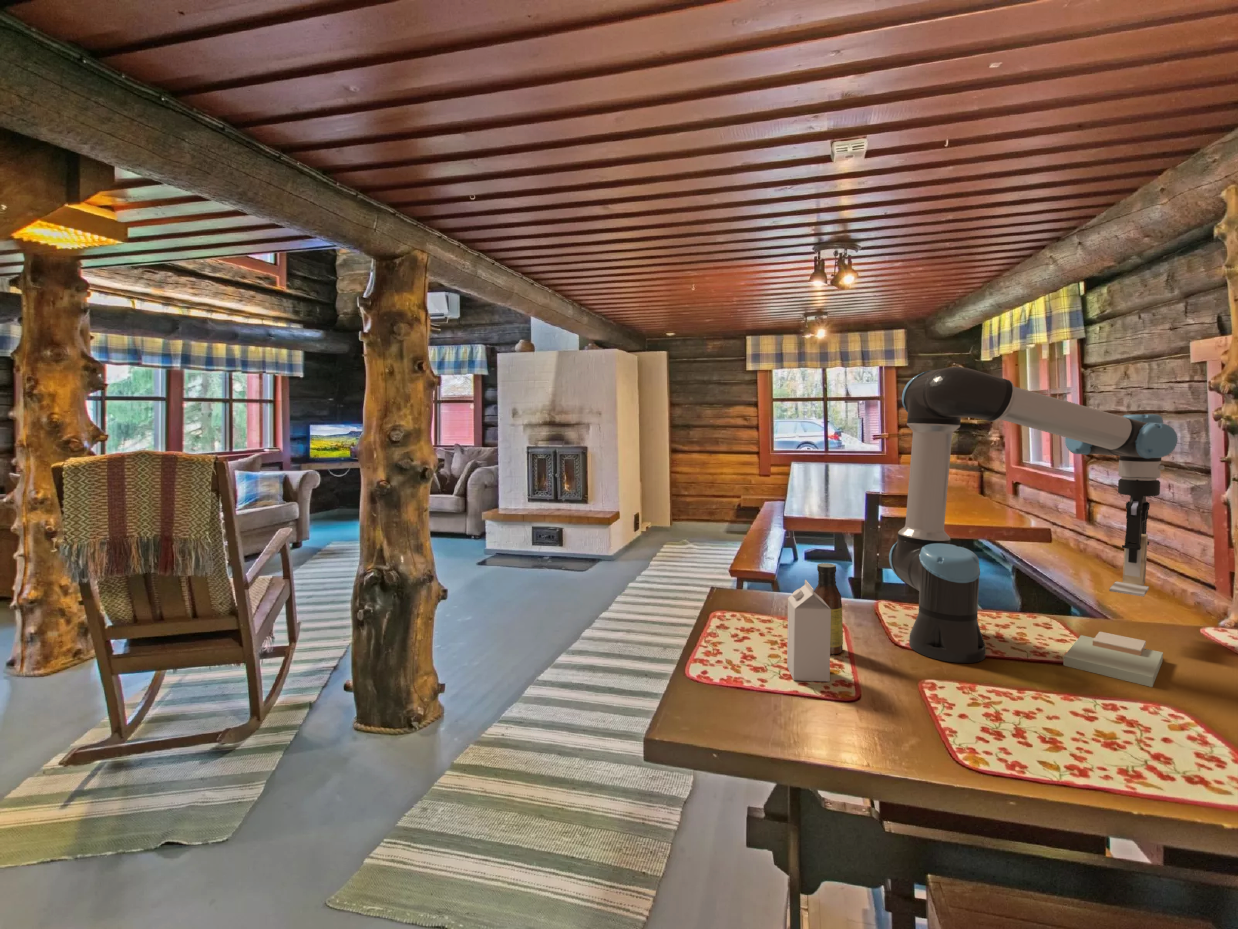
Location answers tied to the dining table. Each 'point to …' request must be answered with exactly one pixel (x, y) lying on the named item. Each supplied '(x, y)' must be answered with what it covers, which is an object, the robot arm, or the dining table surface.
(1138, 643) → the tile
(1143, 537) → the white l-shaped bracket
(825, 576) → the sauce bottle
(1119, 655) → the grooved block
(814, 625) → the milk carton
